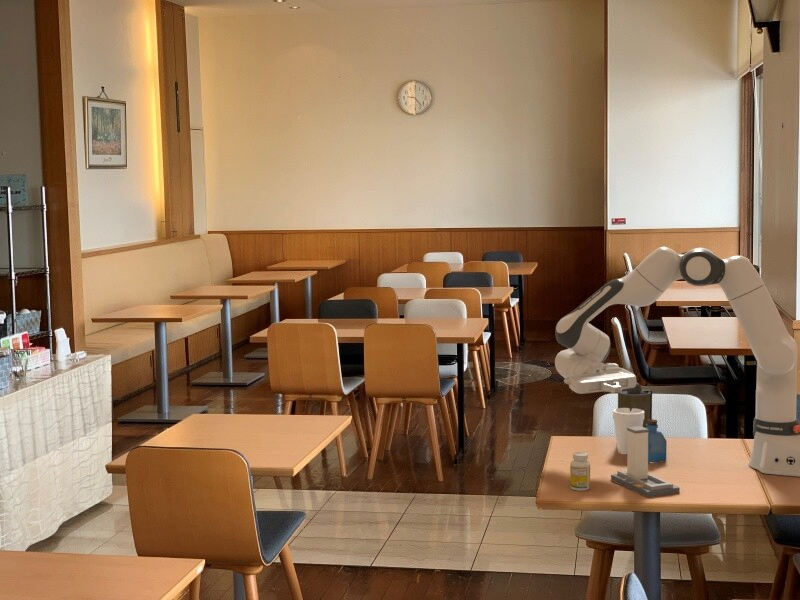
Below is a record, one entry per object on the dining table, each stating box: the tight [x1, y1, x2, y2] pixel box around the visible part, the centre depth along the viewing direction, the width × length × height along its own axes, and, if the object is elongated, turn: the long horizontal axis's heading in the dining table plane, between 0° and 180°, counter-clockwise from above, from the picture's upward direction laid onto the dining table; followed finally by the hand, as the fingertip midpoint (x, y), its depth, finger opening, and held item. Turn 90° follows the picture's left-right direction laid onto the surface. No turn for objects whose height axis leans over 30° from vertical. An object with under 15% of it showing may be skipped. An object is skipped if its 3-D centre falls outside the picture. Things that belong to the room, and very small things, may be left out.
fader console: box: [610, 470, 681, 498], centre depth 283 cm, size 18×10×2 cm, turn 20°
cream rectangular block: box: [626, 426, 649, 479], centre depth 285 cm, size 4×4×14 cm
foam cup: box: [612, 407, 644, 455], centre depth 319 cm, size 10×9×13 cm
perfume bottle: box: [646, 418, 668, 463], centre depth 310 cm, size 6×6×12 cm
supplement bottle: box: [569, 451, 591, 492], centre depth 282 cm, size 5×5×10 cm
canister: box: [617, 382, 653, 428], centre depth 327 cm, size 11×10×20 cm
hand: (617, 390), depth 295 cm, fingers closed
